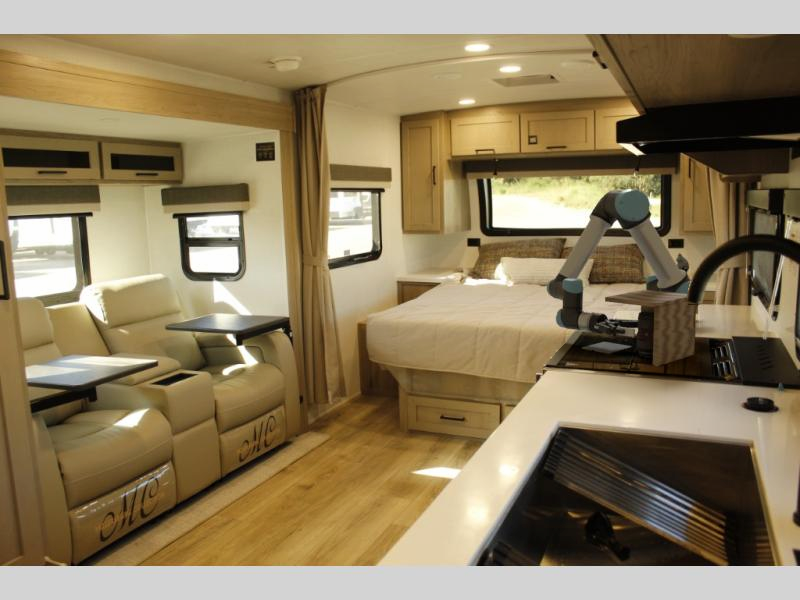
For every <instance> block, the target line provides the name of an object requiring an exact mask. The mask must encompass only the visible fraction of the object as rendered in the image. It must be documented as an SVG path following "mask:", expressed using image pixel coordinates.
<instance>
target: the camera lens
mask: <svg viewBox="0 0 800 600" xmlns="http://www.w3.org/2000/svg"><path fill="white" fill-rule="evenodd" d="M637 320H638V328H637V332H636V337H637V341H636V342H637V343H636V344H637V345H636V346H637V351H638V356H639V355H640V356H639V357H642V356H644V357H643V358H650V357H651V358H653V340H654V312H641V311H640V312H639V311H638V315H637Z"/></svg>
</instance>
